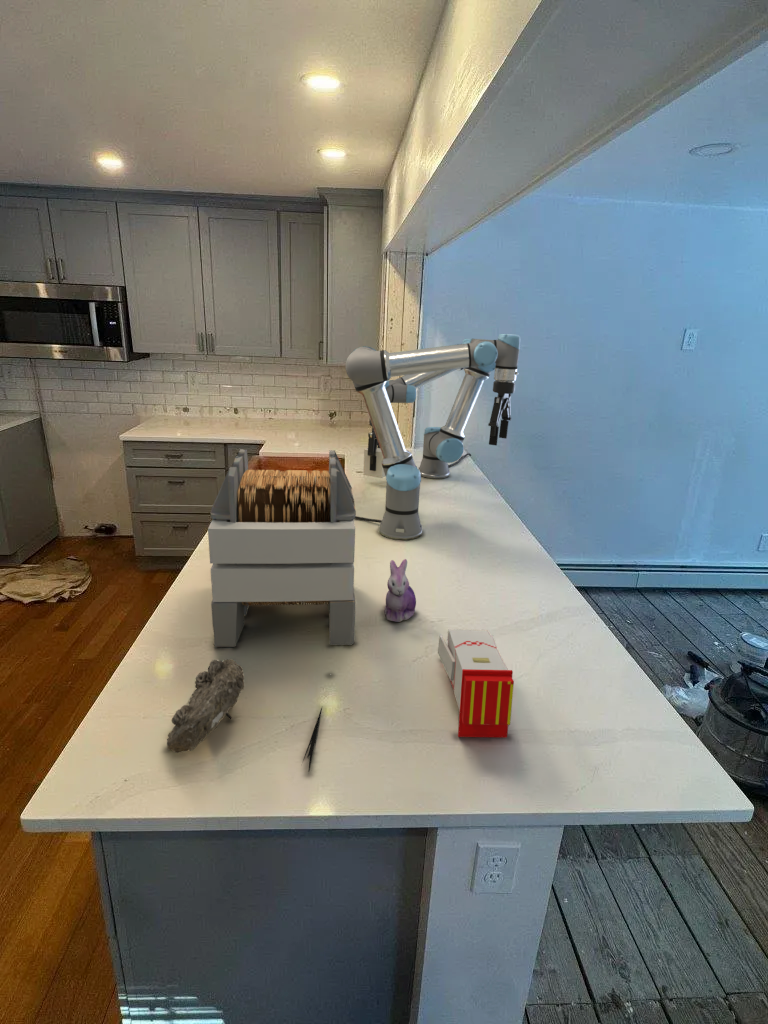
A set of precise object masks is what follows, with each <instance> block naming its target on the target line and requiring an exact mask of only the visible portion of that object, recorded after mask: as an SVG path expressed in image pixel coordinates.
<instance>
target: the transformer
mask: <svg viewBox="0 0 768 1024" xmlns="http://www.w3.org/2000/svg"><path fill="white" fill-rule="evenodd" d="M328 450H329V451H328V470H322V471H320V470H315V469H314V470H312V471H308V470H307V469H305V470H304V469H303V470H302V469H286V470H280V469H276V470H275V469H266V470H265V469H256V470H255V469H249V459H248V449H243V448H239V451H238V452H237V455H236V456H235V457H234V460H233V462H232V464H231V466H230V467H229V468H228V471H227V473H226V475H225V477H224V480H223V481H222V484H221V485H220V489H219V491H218V493H217V495H216V498H215V499H214V501H213V504H212V507H211V509H210V519H212V520H211V522H210V524H209V526H208V528H207V535H208V536H207V537H208V552H209V553H208V554H209V564H212V565H211V568H210V581H211V597H212V598H211V599H212V600H211V604H210V607H211V622H212V623H211V624H212V631H213V644H212V645H213V647H214V648H219V649H220V648H222V647H223V648H224V647H226V648H227V647H230V648H232V647H234V648H235V647H236V646H237V644H238V641H239V639H240V636H241V634H242V631H243V629H244V627H245V616H247V615H248V609H249V607H250V606H298V605H299V606H303V605H304V606H306V605H307V606H309V605H317V606H318V605H320V606H321V605H328V634H329V635H328V637H329V645H330V646H335V645H337V646H340V645H341V646H351V645H353V644H355V633H356V632H355V630H356V595H355V588H354V587H355V586H354V585H355V565H354V564H355V550H356V549H355V548H356V526H355V525H356V524H355V519H354V518H355V517H356V516H357V510H356V504H355V498H354V494H353V487H352V485H351V483H350V480H349V479H348V476H347V474H346V472H345V470H344V468H343V466H342V463H341V462H340V459H339V457H338V455H337V453H336V450H333V449H328Z"/></svg>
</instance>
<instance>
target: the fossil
mask: <svg viewBox="0 0 768 1024" xmlns="http://www.w3.org/2000/svg"><path fill="white" fill-rule="evenodd" d="M243 670H244V669H243V667H242V665H240V664H237V662H236V661H235V660H234V659H232V658H231V659H227V658H226V659H224V660H223V661H222V660H217V659H212V660H211V661H210V663H209V665H208V666H207V671H201V672H199V673H198V674H197V675H196V676H195V680H194V684H195V685H194V687H195V689H194V690H193V693H192V694H191V697H190V698H189V700H188V704H184V705H182V706H181V707H180V709H177V710H176V711H175V713H174V715H173V716H172V718H171V723H172V724H173V727H172V730H171V731H170V732H168V734H167V738H166V741H167V742H166V745H167V749H168V750H169V751H173V752H174V753H176V754H178V753H182V752H188V751H189V752H192V751H193V750H195V748H196V747H197V746H199V744H200V743H201V742H203V741H204V740H205V739H206V738H207V737H208V736H209V735H210V734H211V733H212V732H214V730H215V729H217V727H218V726H219V724H220V722H221V721H222V720H223V719H224V718H225V716H226V717H227V719H229V720H233V717H232V715H230V714H229V710H230V709H231V708H234V706H235V704H236V703H237V702H238V699H239V697H240V695H241V693H242V691H243V690H245V689H244V688H245V675H244V671H243Z"/></svg>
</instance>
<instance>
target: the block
mask: <svg viewBox="0 0 768 1024" xmlns="http://www.w3.org/2000/svg"><path fill="white" fill-rule="evenodd" d="M363 450H364V451H363V473H362V474H363V476H368V477H374V478H378V479H383V478H386V476H385V473H384V470H383V467H382V464H381V462H382V460H383V454H382V452H381V449H380V448H378V447H377V450H376V456H377V457H376V471H372V470H370V456H368V447H366V448H364V449H363Z"/></svg>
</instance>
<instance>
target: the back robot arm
mask: <svg viewBox="0 0 768 1024" xmlns="http://www.w3.org/2000/svg"><path fill="white" fill-rule="evenodd" d="M495 365H496V363H493V364H492V365H490V366H487V367H482V366H477V367H467V368H459V369H451V370H443V371H435V372H427V373H419V374H411V375H403V376H399V377H398V378H396V379H389V380H388V381H387V383H386V385H385V388H386V391H387V394H388V397H389V400H390V403H391V404H413V403H415V401H416V398H417V389H419V388H420V387H423V386H425V385H427V384H429V383H431V382H433V381H436V380H438V379H440V378H442V377H444V376H446V375H449V374H451V373H453V372H455V371H458V372H460V371H462V370H463V371H464V373H465V374H464V376H463V379H462V381H461V384H460V386H459V389H458V392H457V394H456V397H455V399H454V402H453V404H452V407H451V410H450V412H449V415H448V417H447V420H446V422H445V425H443V426H427V427H425V429H424V432H423V443H422V444H423V445H422V459H421V462H420V464H419V467H417V468H418V469H419V471H420V474H421V478H422V477H423V478H426V479H433V480H434V479H435V480H437V479H438V480H440V479H446V478H449V477H450V472H451V471H450V469H449V468H450V467H453V466H455V465H457V464H459V463H461V461H462V460H463V459H464V458H466V457H467V456H469V457H472V454H471V453H470V452H467V453H466V454H464V450H465V449H464V440H465V437H466V436H465V433H464V431H465V428H466V426H467V424H468V421H469V418H470V416H471V413H472V411H473V408H474V407H475V404H476V402H477V399H478V397H479V394H480V392H481V389H482V386H483V384H484V381H486V380H488V379H489V378H490V375H491V373H492V372H494V371H495ZM369 426H370V427H372V428H371V432H367V433H368V434H367V435H368V442H367V443H368V444H367V448H368V456H370V470H372V471H376V457H377V456H376V450H377V448H380V446H379V443H378V440H377V437H376V434H375V431H374V428H373V425H372V423H371V420H370V419H369Z"/></svg>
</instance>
